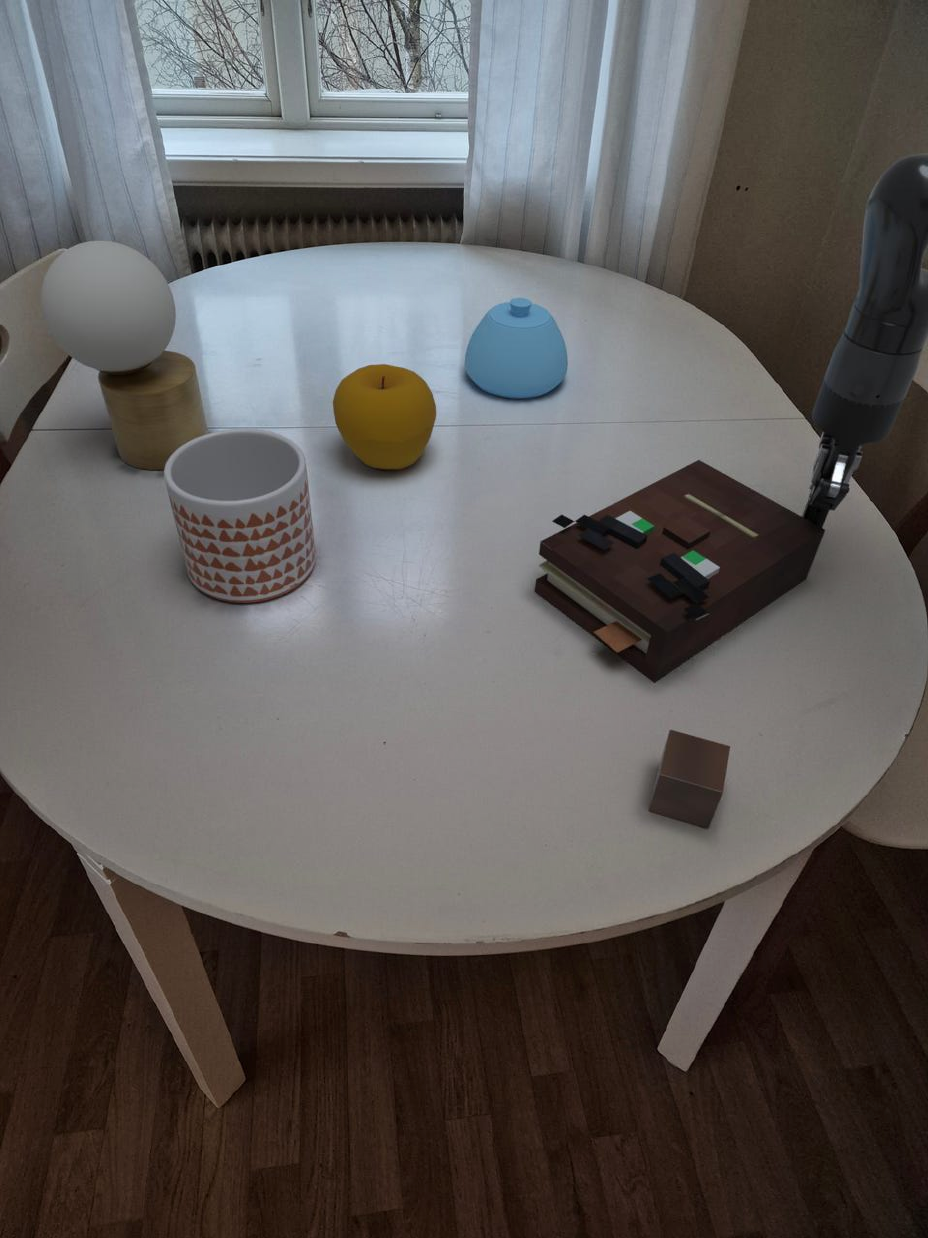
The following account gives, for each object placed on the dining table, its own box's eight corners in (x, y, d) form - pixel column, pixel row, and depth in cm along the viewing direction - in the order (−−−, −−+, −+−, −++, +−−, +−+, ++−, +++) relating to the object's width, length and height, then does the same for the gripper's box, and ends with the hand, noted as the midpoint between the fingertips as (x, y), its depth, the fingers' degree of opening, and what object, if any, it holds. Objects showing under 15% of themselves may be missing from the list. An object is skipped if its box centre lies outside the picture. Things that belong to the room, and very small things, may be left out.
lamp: (69, 473, 105) (0, 266, 88) (108, 415, 115) (54, 219, 98) (193, 479, 105) (149, 272, 88) (221, 420, 115) (186, 225, 98)
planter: (208, 620, 87) (185, 518, 78) (173, 545, 95) (148, 445, 87) (335, 581, 92) (326, 481, 83) (290, 513, 100) (278, 416, 92)
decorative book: (851, 520, 90) (663, 644, 75) (827, 576, 95) (647, 702, 81) (705, 442, 101) (515, 537, 86) (691, 495, 106) (510, 594, 91)
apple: (366, 497, 103) (361, 412, 96) (317, 447, 111) (309, 365, 103) (455, 467, 109) (458, 384, 101) (403, 421, 116) (402, 341, 109)
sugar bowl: (565, 407, 121) (574, 327, 113) (458, 398, 122) (461, 319, 114) (566, 358, 132) (575, 283, 124) (469, 351, 133) (472, 276, 125)
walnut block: (716, 782, 74) (730, 746, 71) (708, 829, 71) (722, 793, 67) (658, 765, 75) (669, 729, 72) (648, 811, 72) (659, 774, 68)
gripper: (908, 423, 77) (843, 571, 89) (906, 359, 86) (847, 501, 98) (821, 407, 78) (769, 554, 90) (828, 345, 87) (780, 486, 99)
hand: (810, 526), depth 94 cm, fingers closed
